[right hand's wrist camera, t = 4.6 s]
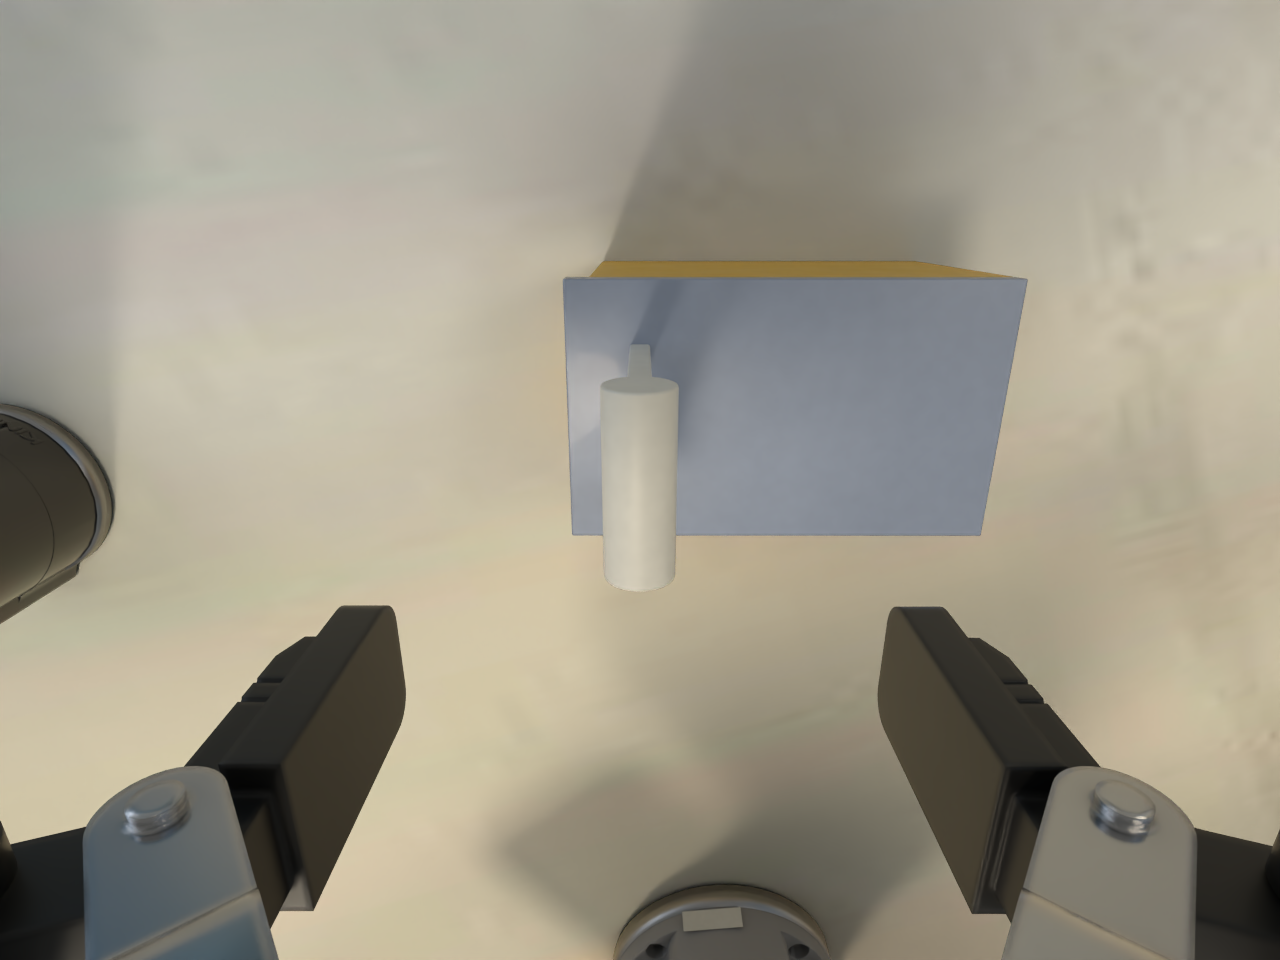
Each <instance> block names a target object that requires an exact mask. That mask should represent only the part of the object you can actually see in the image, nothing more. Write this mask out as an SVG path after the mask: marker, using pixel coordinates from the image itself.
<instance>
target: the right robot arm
mask: <svg viewBox="0 0 1280 960" xmlns="http://www.w3.org/2000/svg"><path fill="white" fill-rule="evenodd" d="M111 516H112V506H111V498H110V493H109V489H108V486H107V483H106V480H105V478H104V476H103V474H102V472H101V470H100V468H99V466H98V465H97V463H96V461H95V460H94V459H93V457H92V456H91V455H90V453H89V452H88V451H87V450H86V449H85V447H84V446H83V445H82V444H81V443H80V442H79V441H78V440H77V439H76V438H75V437H73V436H72V435H71V434H70V433H69V432H68V431H66V430H65V429H63V428H62V427H61V426H59V425H58V424H56V423H55V422H53V421H51V420H49V419H48V418H46V417H44V416H42V415H39V414H37V413H35V412H32V411H30V410H27V409H24V408H20V407H16V406H11V405H6V404H0V624H1V623H3V622H4V621H6V620H7V619H9V618H11V617H12V616H14V615H15V614H17V613H19V612H20V611H22V610H23V609H25V608H26V607H28V606H30V605H31V604H33V603H34V602H36V601H37V600H39V599H41V598H42V597H44V596H45V595H47V594H48V593H50V592H52V591H53V590H55V589H56V588H58V587H59V586H61V585H63V584H64V583H66V582H67V581H69V580H70V579H72V578H74V577H75V576H76V569H77V565H78V563H79V562H81V561H82V560H84V559H86V558H87V557H89V556H90V555H91V554H93V553H94V552H95V551H96V550H97V549H98V548H99V546H100V545H101V544H102V542H103V541H104V539H105V537H106V535H107V533H108V530H109V527H110V523H111ZM405 701H406V687H405V679H404V672H403V665H402V658H401V650H400V643H399V636H398V629H397V622H396V616H395V613H394V611H393V609H392V607H390V606H341V607H339V608H338V609H337V611H336V612H335V613H334V614H333V616H332V617H331V618H330V620H329V621H328V622H327V623H326V625H325V626H324V627H323V629H322V630H321V631H320V633H319V634H318V635H317V636H316V637H304V638H302V639H301V640H299V641H298V642H296V643H295V644H293V645H292V646H290V647H289V648H287V649H286V650H284V651H283V652H281V653H280V654H278V655H277V656H275V658H274V659H273V660H272V661H271V662H270V664H269V665H268V666H267V667H266V668H265V670H264V671H263V672H262V673H261V674H260V676H259V677H258V678H257V683H253V684H252V685H251V687H250V688H249V689H248V690H247V691H246V693H245V694H244V695H243V696H242V700H241V702H237V703H236V705H235V706H234V707H233V708H232V709H231V711H230V712H229V713H228V714H227V715H226V717H225V718H224V719H223V720H222V721H221V723H220V724H219V725H218V726H217V727H216V729H215V730H214V731H213V732H212V733H211V735H210V736H209V737H208V738H207V740H206V741H205V742H204V743H203V744H202V746H201V747H200V748H199V749H198V750H197V752H196V753H195V754H194V755H193V756H192V758H191V759H190V760H189V761H188V762H187V764H186V765H185V766H184V767H179V768H174V769H170V770H165V771H162V772H159V773H156V774H153V775H151V776H148V777H146V778H144V779H141V780H139V781H138V782H136V783H134V784H132V785H130V786H128V787H127V788H125V789H123V790H122V791H120V792H119V793H117V794H116V795H115V796H113V797H112V798H111V799H109V800H108V801H107V802H106V803H105V804H104V805H103V806H102V807H101V808H99V810H98V811H97V812H96V813H95V814H94V815H93V817H92V818H91V820H90V821H89V823H88V824H87V826H86V827H83V828H79V829H75V830H70V831H66V832H62V833H58V834H53V835H49V836H45V837H40V838H36V839H32V840H27V841H23V842H19V843H15V844H10V843H9V840H8V838H7V835H6V833H5V831H4V828H3V826H2V823H1V821H0V960H279V959H278V955H277V952H276V948H275V945H274V941H273V938H272V934H271V931H270V929H271V927H272V925H273V923H274V921H275V919H276V917H277V915H278V913H279V911H314V908H315V906H316V904H317V902H318V900H319V898H320V896H321V894H322V891H323V889H324V887H325V885H326V883H327V881H328V879H329V877H330V874H331V872H332V870H333V868H334V866H335V864H336V862H337V860H338V857H339V855H340V853H341V851H342V849H343V847H344V845H345V843H346V840H347V838H348V836H349V834H350V832H351V830H352V828H353V826H354V824H355V821H356V819H357V817H358V815H359V813H360V811H361V809H362V807H363V804H364V802H365V800H366V798H367V796H368V794H369V792H370V790H371V787H372V785H373V783H374V781H375V779H376V777H377V775H378V773H379V770H380V768H381V766H382V764H383V762H384V760H385V758H386V756H387V753H388V751H389V749H390V747H391V745H392V743H393V741H394V739H395V736H396V734H397V732H398V730H399V728H400V725H401V722H402V719H403V715H404V710H405ZM878 707H879V713H880V718H881V722H882V725H883V728H884V730H885V732H886V734H887V736H888V739H889V741H890V743H891V745H892V747H893V749H894V751H895V753H896V755H897V757H898V760H899V762H900V764H901V766H902V768H903V770H904V772H905V774H906V776H907V778H908V781H909V783H910V785H911V787H912V789H913V791H914V793H915V795H916V797H917V799H918V801H919V804H920V806H921V808H922V810H923V812H924V814H925V816H926V818H927V820H928V822H929V825H930V827H931V829H932V831H933V833H934V835H935V837H936V839H937V841H938V843H939V846H940V848H941V850H942V852H943V854H944V856H945V858H946V860H947V862H948V864H949V866H950V869H951V871H952V873H953V875H954V877H955V879H956V881H957V883H958V885H959V887H960V890H961V892H962V894H963V896H964V898H965V900H966V902H967V904H968V906H969V908H970V911H971V913H972V914H1006V915H1007V917H1008V918H1009V920H1010V922H1011V927H1010V931H1009V934H1008V938H1007V941H1006V945H1005V948H1004V952H1003V955H1002V959H1001V960H1280V830H1279V833H1278V835H1277V838H1276V840H1275V842H1274V845H1273V846H1269V845H1265V844H1260V843H1256V842H1252V841H1248V840H1243V839H1239V838H1235V837H1230V836H1226V835H1222V834H1217V833H1213V832H1209V831H1205V830H1201V829H1197V828H1194V826H1193V824H1192V823H1191V821H1190V820H1189V818H1188V817H1187V815H1186V814H1185V813H1184V812H1183V811H1182V810H1181V808H1179V807H1178V806H1177V805H1176V804H1175V803H1174V802H1173V801H1172V800H1171V799H1169V798H1168V797H1167V796H1165V795H1164V794H1163V793H1161V792H1160V791H1158V790H1157V789H1155V788H1153V787H1152V786H1150V785H1148V784H1146V783H1144V782H1142V781H1141V780H1139V779H1136V778H1134V777H1132V776H1129V775H1127V774H1124V773H1121V772H1118V771H1115V770H1110V769H1106V768H1101V767H1100V766H1099V765H1098V763H1097V762H1096V761H1095V760H1094V759H1093V757H1092V756H1091V755H1090V754H1089V753H1088V752H1087V750H1086V749H1085V748H1084V747H1083V746H1082V744H1081V743H1080V742H1079V741H1078V740H1077V738H1076V737H1075V736H1074V735H1073V734H1072V732H1071V731H1070V730H1069V729H1068V728H1067V726H1066V725H1065V724H1064V723H1063V722H1062V720H1061V719H1060V718H1059V717H1058V716H1057V715H1056V713H1055V712H1054V711H1053V710H1052V709H1051V707H1050V706H1049V705H1048V704H1044V702H1043V698H1042V697H1041V695H1040V694H1039V693H1038V692H1037V691H1036V689H1035V688H1034V687H1033V686H1032V685H1028V682H1027V679H1026V678H1025V676H1024V675H1023V674H1022V673H1021V672H1020V670H1019V669H1018V668H1017V667H1016V666H1015V664H1014V663H1013V662H1012V661H1011V660H1010V658H1009V657H1007V656H1006V655H1004V654H1003V653H1001V652H1000V651H998V650H997V649H995V648H994V647H992V646H991V645H989V644H987V643H986V642H984V641H983V640H981V639H980V638H968V637H967V636H966V635H965V633H964V632H963V631H962V630H961V628H960V627H959V626H958V624H957V623H956V622H955V621H954V619H953V618H952V617H951V615H950V614H949V613H948V612H947V611H946V609H944V608H943V607H894V608H892V610H891V611H890V614H889V617H888V621H887V628H886V635H885V642H884V649H883V656H882V663H881V671H880V678H879V685H878Z"/></svg>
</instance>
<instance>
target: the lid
mask: <svg viewBox="0 0 1280 960" xmlns="http://www.w3.org/2000/svg"><path fill="white" fill-rule="evenodd" d="M1026 286H1027V279H1023V278H1017V277H566V278H564V279H563V297H564V324H565V351H566V379H567V406H568V433H569V460H570V487H571V514H572V535H603V560H604V577H605V579H606V581H607V582H608V583H609V584H611V585H612V586H614V587H616V588H619V589H622V590H626V591H633V592H646V591H653V590H657V589H660V588H663V587H665V586H667V585H668V584H670V583H671V582H672V580H673V579H674V577H675V557H676V535H864V536H980V535H981V529H982V524H983V518H984V513H985V508H986V502H987V497H988V491H989V486H990V481H991V475H992V470H993V464H994V459H995V454H996V448H997V443H998V437H999V432H1000V427H1001V421H1002V416H1003V410H1004V405H1005V400H1006V394H1007V389H1008V383H1009V378H1010V373H1011V367H1012V362H1013V356H1014V351H1015V346H1016V340H1017V335H1018V329H1019V324H1020V318H1021V313H1022V308H1023V302H1024V297H1025V291H1026Z"/></svg>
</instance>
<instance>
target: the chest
mask: <svg viewBox="0 0 1280 960" xmlns="http://www.w3.org/2000/svg"><path fill="white" fill-rule="evenodd" d="M590 277H1011V276H1004V275H998V274H992V273H986V272H979V271H973V270H967V269H961V268H954V267H948V266H942V265H936V264H929V263H923V262H916V261H604V262H602V263H601V264H600V265H599V266H598V268H597V269H596V270H595V271H594V272H593V273H592V275H591V276H590Z"/></svg>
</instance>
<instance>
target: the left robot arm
mask: <svg viewBox="0 0 1280 960" xmlns="http://www.w3.org/2000/svg"><path fill="white" fill-rule="evenodd" d="M613 960H831V959H830V956H829V952H828V948H827V944H826V940H825V938H824V935H823V933H822V931H821V929H820V928H819V926H818V925H817V923H816V922H815V921H814V919H813V918H812V917H811V916H810V915H809V914H808V913H807V912H806V911H804V910H803V909H802V908H801V907H799V906H798V905H796V904H795V903H793V902H792V901H790V900H788V899H786V898H784V897H782V896H780V895H777V894H775V893H772V892H769V891H766V890H762V889H758V888H753V887H748V886H740V885H710V886H701V887H696V888H691V889H687V890H683V891H680V892H677V893H674V894H671V895H669V896H667V897H664V898H662V899H660V900H658V901H656V902H654V903H653V904H651V905H650V906H648V907H647V908H645V909H644V910H642V911H641V912H640V913H639V914H637V915H636V916H635V917H634V918H633V919H632V920H631V921H630V923H629V924H628V925H627V926H626V927H625V929H624V930H623V932H622V933H621V935H620V937H619V939H618V941H617V944H616V947H615V951H614V956H613Z"/></svg>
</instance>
